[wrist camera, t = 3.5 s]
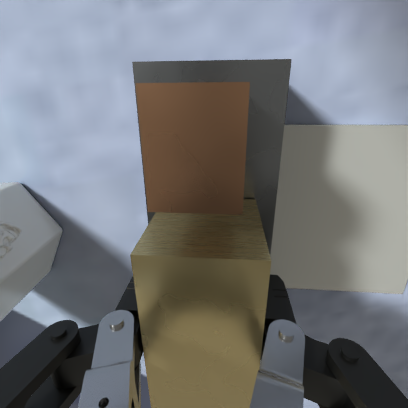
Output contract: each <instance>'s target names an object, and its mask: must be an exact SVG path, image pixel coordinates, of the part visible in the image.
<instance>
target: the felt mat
mask: <svg viewBox="0 0 408 408" xmlns="http://www.w3.org/2000/svg"><path fill="white" fill-rule="evenodd" d="M270 257H271V269H270V274H272V275H278V276H279V277H280V278H281V279H282V280H283V281H284V284H285V287H286V288H293V289H313V290H332V291H352V292H372V293H391V294H403V291H404V289H405V286H406V283H407V280H408V125H284V133H283V142H282V152H281V161H280V170H279V180H278V189H277V198H276V208H275V217H274V226H273V236H272V245H271V254H270Z"/></svg>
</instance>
